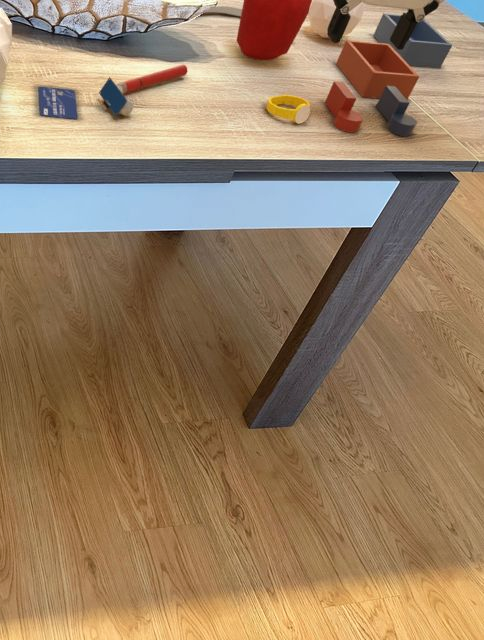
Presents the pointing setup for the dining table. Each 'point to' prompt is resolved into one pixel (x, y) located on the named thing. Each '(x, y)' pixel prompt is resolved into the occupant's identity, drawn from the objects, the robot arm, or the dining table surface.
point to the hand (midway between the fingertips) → (364, 42)
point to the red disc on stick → (343, 107)
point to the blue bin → (416, 42)
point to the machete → (226, 10)
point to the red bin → (375, 68)
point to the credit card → (57, 102)
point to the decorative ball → (323, 14)
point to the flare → (152, 78)
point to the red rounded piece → (270, 26)
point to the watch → (296, 114)
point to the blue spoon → (396, 111)
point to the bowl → (4, 43)
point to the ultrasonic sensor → (115, 99)
